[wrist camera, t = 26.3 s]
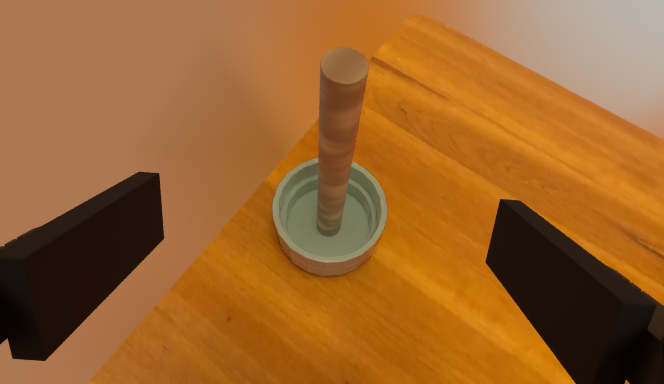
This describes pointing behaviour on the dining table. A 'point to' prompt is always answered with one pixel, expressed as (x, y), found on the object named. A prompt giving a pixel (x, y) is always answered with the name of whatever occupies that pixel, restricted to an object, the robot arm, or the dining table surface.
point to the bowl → (301, 221)
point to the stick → (338, 131)
